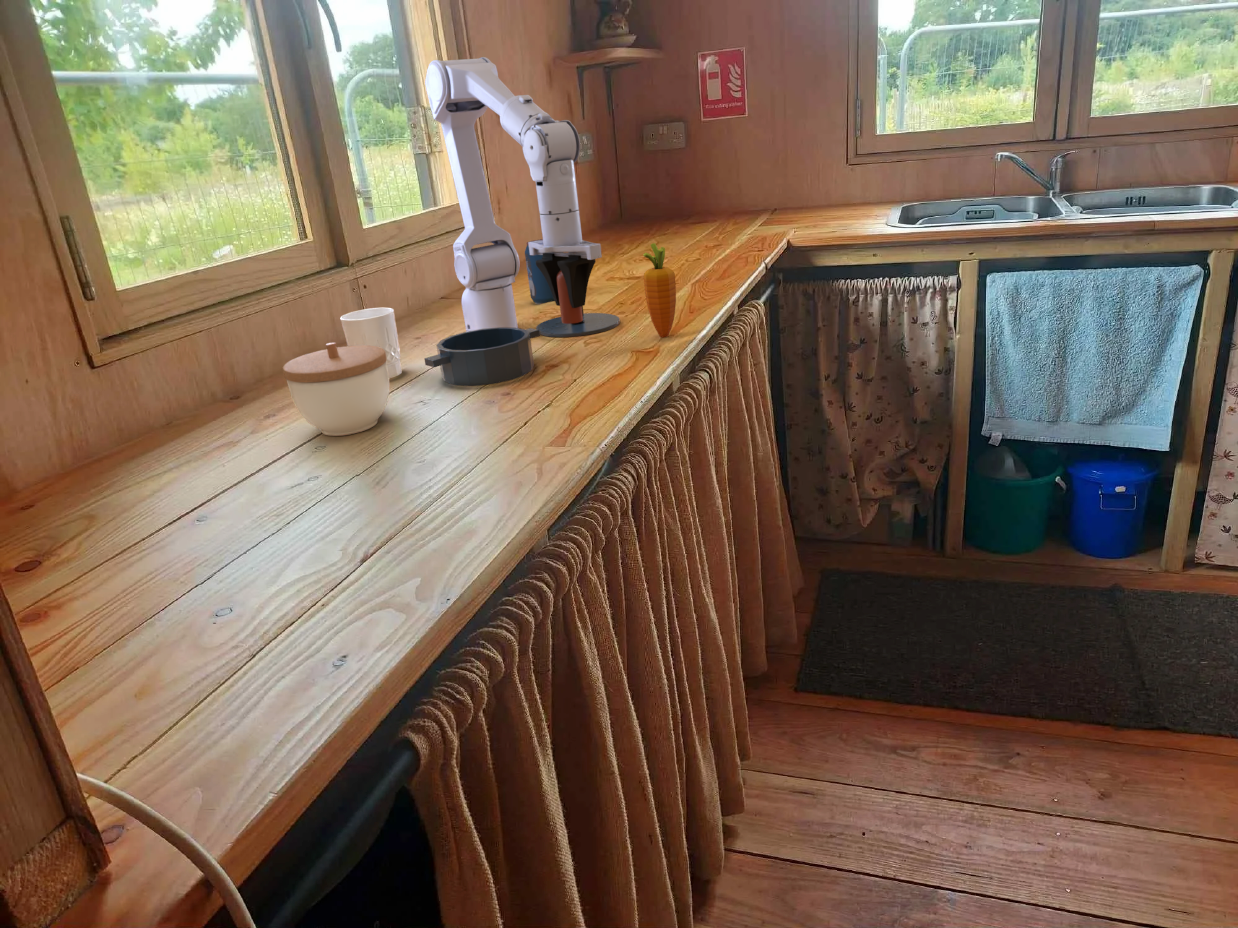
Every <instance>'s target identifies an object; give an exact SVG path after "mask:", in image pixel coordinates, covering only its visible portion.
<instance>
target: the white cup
mask: <svg viewBox="0 0 1238 928" xmlns="http://www.w3.org/2000/svg"><path fill="white" fill-rule="evenodd" d="M339 320H340V323H341V326H342V330H343V333H344V337H345V343H346V346H356V345H368V346H377V347H380V348H382V349H384V350H385V352H386V358H387V360H386V363H387V368H388V374H389V379H392V378H395V377H397V376H399V375H401V374H402V373H403V370H402V369H403V368H402V363H401V351H400V343H399V335H398V334H399V333H398V328H397V321H396V316H395V309H394V308H391V307H371V308H364V309H359V310H354V311H350V312H348V313H345V314H343V315H341V316H340V318H339Z"/></svg>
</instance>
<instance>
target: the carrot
mask: <svg viewBox="0 0 1238 928" xmlns="http://www.w3.org/2000/svg"><path fill="white" fill-rule="evenodd" d="M650 247H651V249H652V252H653V254H654V255H651V254H650V253H648V252H644V253H643V254H642V255H643V257H644V258H647V259H648V260H649V261H650V262H651V263H652V265H653V267H651V268H649V269H647V270H645V271H644V273H643V286H644V293H645V294H644V295H645V300H646V301H645V302H646V305H647V309H648V313H649V316H650V320H651V323H652V325H653V327H654V329H655V331H656V333H657V335H658V336H659V337H660V338H663V339H665V338H668V337H669V335H670V332H671V330H672V328H673V324H674V321H675V315H676V304H677V285H676V273H675V271H674V270H673V269H672V268H670V267H668V266H664V262H665V257H666V248H665V247H663V246H661V247H660V248H659V249H658V247H657V244H656V243H655V242H653V243H651V244H650Z"/></svg>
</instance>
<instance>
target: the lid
mask: <svg viewBox="0 0 1238 928" xmlns="http://www.w3.org/2000/svg"><path fill="white" fill-rule="evenodd" d="M581 307H582V316H583V321H581V322H578V323H572V324H565V323H562V319H561V316H558V317H557V316H556V317H554V318H550V319H547V320H545V321H542V322H540V323H538V324H537V325H536V327H535V329H537V330H539V331H540V336H543V337H548V338H572V337H573V338H574V337H583V336H584V337H585V336H589V335H595V334H600V333H603V332H607V331H610V330H612V329H614V328H616V327H618V326H619V325H620V323H621V320H620V317H619V316H618V315H615V314H611V313H606V312H605V313H603V312H586V313H585V312H584V306H581Z"/></svg>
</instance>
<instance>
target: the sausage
mask: <svg viewBox="0 0 1238 928" xmlns="http://www.w3.org/2000/svg"><path fill="white" fill-rule="evenodd" d="M557 287H558V295H559V303H560V306H559V311H560V317H561V319H562V323H565V324H572V323H578V322H581V321H583V316H582V307H577V308H572V306H571V304H570V300H569V295H568V290H567V285H566V282H565V279H564V276H563V274H562V271H561V270H560V271H559V272H558V274H557Z"/></svg>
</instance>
